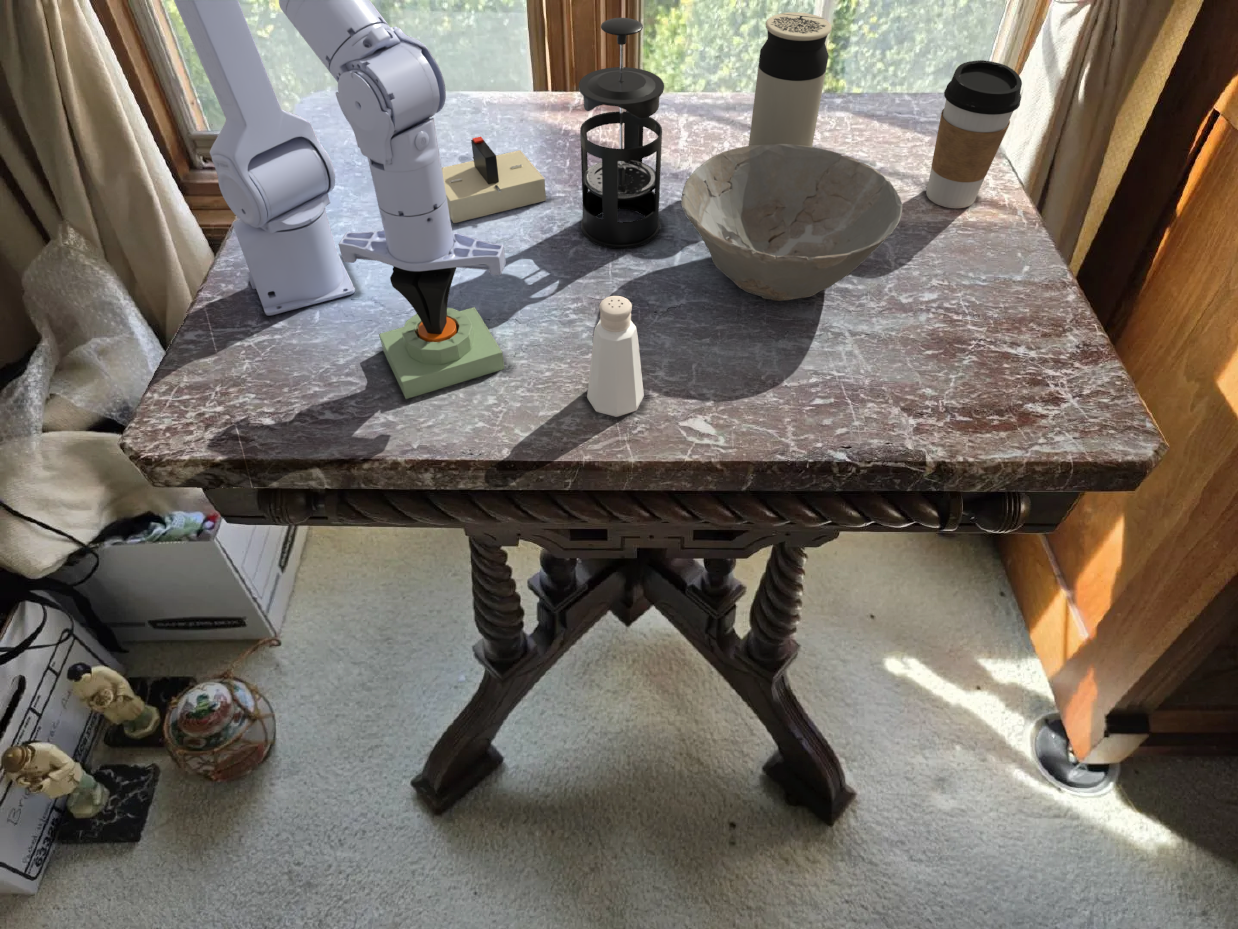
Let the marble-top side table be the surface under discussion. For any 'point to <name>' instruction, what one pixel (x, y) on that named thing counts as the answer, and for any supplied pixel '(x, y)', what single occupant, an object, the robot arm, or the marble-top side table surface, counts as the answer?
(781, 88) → the travel mug
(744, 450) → the marble-top side table surface
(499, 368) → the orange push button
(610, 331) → the salt shaker
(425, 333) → the button
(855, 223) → the ceramic bowl
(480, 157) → the knob
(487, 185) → the dial panel
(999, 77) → the coffee cup
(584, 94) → the french press
